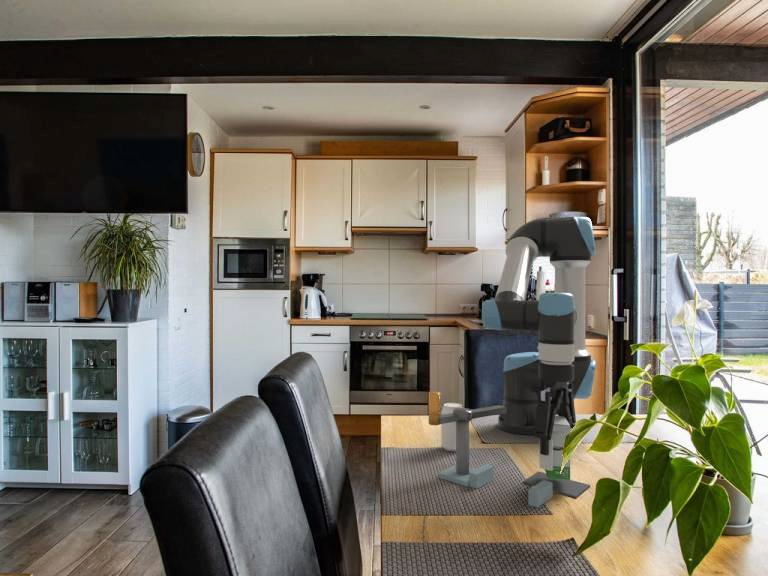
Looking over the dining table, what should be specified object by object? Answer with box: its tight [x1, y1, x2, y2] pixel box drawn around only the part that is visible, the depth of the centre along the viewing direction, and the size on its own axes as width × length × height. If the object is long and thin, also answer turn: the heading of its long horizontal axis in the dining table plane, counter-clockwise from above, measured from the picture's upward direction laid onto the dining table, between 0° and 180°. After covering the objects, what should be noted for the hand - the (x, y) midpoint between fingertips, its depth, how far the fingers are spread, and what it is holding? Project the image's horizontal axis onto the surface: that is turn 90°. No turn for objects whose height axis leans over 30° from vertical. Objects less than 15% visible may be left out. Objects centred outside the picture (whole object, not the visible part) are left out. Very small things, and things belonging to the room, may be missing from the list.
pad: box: [522, 471, 591, 499], centre depth 110 cm, size 8×12×1 cm, turn 48°
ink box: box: [544, 415, 571, 480], centre depth 110 cm, size 9×5×12 cm, turn 168°
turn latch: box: [428, 390, 506, 426], centre depth 116 cm, size 4×22×7 cm, turn 120°
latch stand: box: [437, 421, 554, 508], centre depth 110 cm, size 8×24×13 cm, turn 48°
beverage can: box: [440, 402, 463, 452], centre depth 135 cm, size 6×6×12 cm
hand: (556, 462), depth 110 cm, fingers closed on ink box, 9 cm apart
